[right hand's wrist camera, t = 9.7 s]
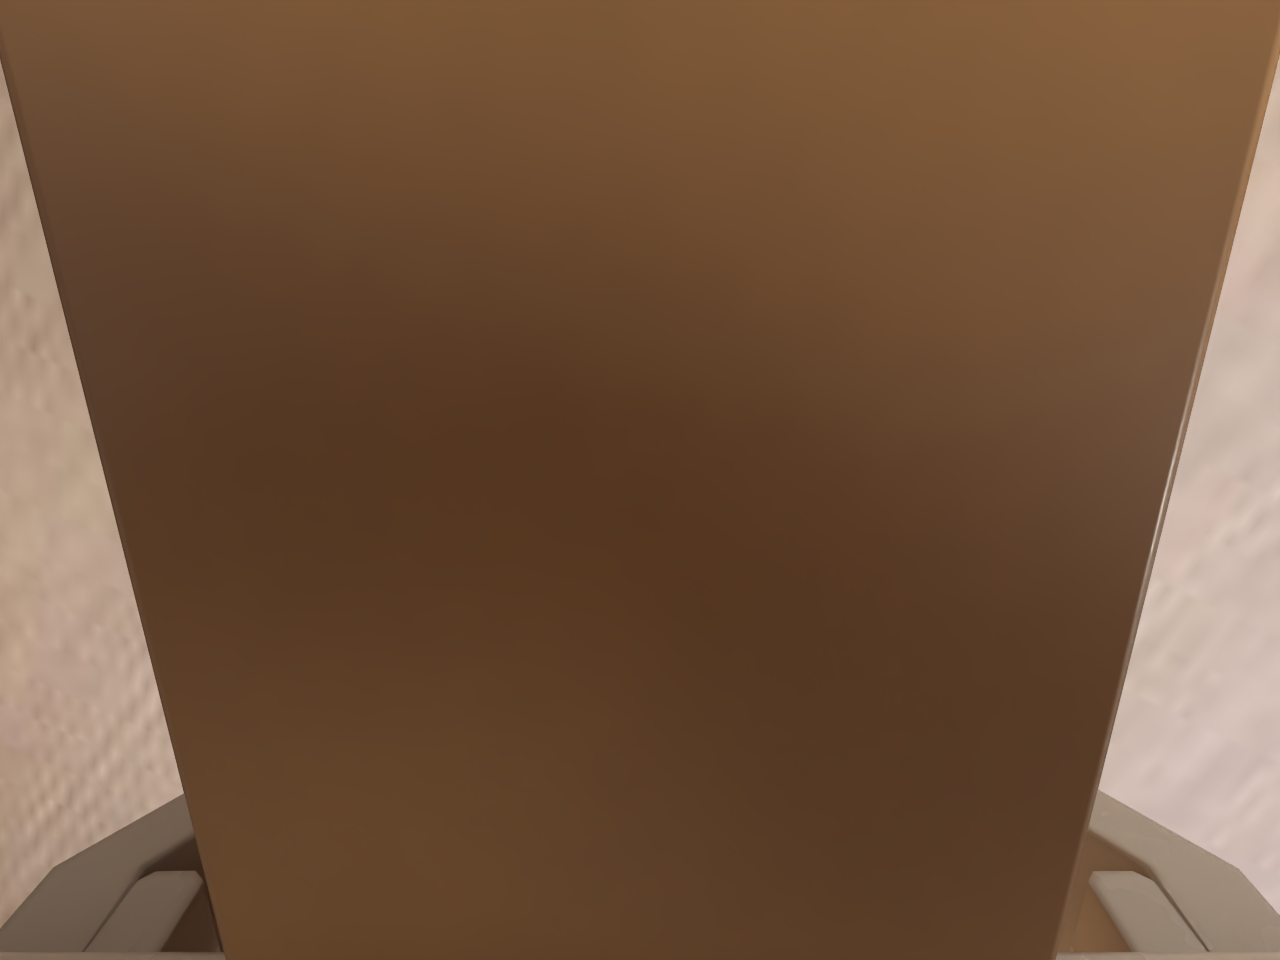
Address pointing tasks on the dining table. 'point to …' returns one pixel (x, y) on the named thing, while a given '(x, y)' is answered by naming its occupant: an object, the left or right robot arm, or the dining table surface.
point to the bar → (640, 444)
